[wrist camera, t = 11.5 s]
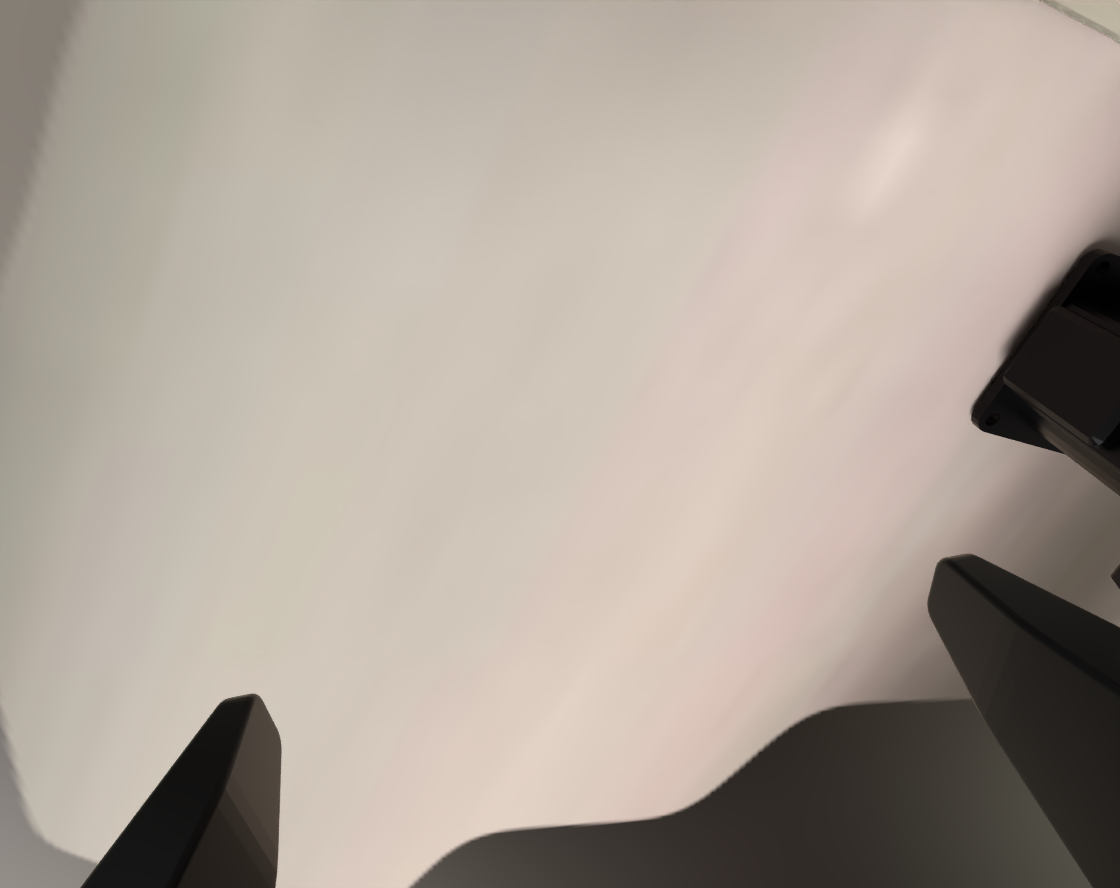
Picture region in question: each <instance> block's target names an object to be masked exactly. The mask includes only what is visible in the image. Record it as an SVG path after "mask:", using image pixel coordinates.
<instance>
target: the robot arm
mask: <svg viewBox="0 0 1120 888" xmlns="http://www.w3.org/2000/svg"><path fill="white" fill-rule="evenodd" d="M1099 263H1100V264H1099ZM1098 264H1099V266H1098V268H1097V269H1096V270H1095V268H1096V266H1097V265H1098ZM1094 270H1095V271H1094ZM989 415H990V416H989ZM988 416H989V417H988ZM987 417H988V418H987ZM986 418H987V419H986ZM971 421H972V423H973V424H974V425H975V426H976V427H978V428H979V429H980V430H982V431H983V432H987V433H990V434H994V435H998V436H1001V437H1005V438H1008V439H1012V440H1016V441H1019V442H1023V443H1027V444H1030V445H1034V446H1037V447H1041V448H1045V449H1048V450H1052V451H1056V452H1059V453H1063V454H1066V455H1067V456H1068V457H1070V458H1071V459H1072V460H1074V461H1075V462H1076V463H1078V464H1079V465H1080V466H1081V467H1083V468H1084V469H1085V470H1087V471H1088V472H1089V473H1091V474H1092V475H1093V476H1095V477H1096V478H1097V479H1098V480H1100V481H1101V482H1102V483H1104V484H1105V485H1106V486H1108V487H1109V488H1110V489H1111V490H1113V491H1114V492H1115V493H1117V494H1118V495H1119V496H1120V256H1118V255H1115V254H1113V253H1110V252H1108V251H1105V250H1102V249H1096V250H1093V251H1091V252H1089V253H1088V254H1086V255H1085V256H1084V257H1083V258H1082V259H1081V261H1080V262H1079V263H1078V265H1077V266H1076V268H1075V269H1074V270H1073V272H1072V273H1071V275H1070V276H1069V277H1068V279H1067V280H1066V282H1065V283H1064V284H1063V286H1062V287H1061V289H1060V290H1059V292H1058V293H1057V294H1056V296H1055V297H1054V299H1053V300H1052V301H1051V303H1050V304H1049V306H1048V307H1047V308H1046V310H1045V311H1044V313H1043V314H1042V315H1041V317H1040V318H1039V320H1038V321H1037V323H1036V324H1035V325H1034V327H1033V328H1032V330H1031V331H1030V332H1029V334H1028V335H1027V337H1026V338H1025V339H1024V341H1023V342H1022V344H1021V345H1020V346H1019V348H1018V349H1017V351H1016V352H1015V353H1014V355H1013V356H1012V358H1011V359H1010V361H1009V362H1008V363H1007V365H1006V366H1005V368H1004V369H1003V370H1002V372H1001V373H1000V375H999V376H998V377H997V379H996V380H995V382H994V383H993V384H992V386H991V387H990V389H989V390H988V392H987V393H986V394H985V396H984V397H983V399H982V400H981V401H980V403H979V404H978V406H977V407H976V408H975V410H974V412H973V414H972V416H971ZM1111 577H1112V579H1113V580H1114V582H1115V583H1116V585H1117V586H1118V587H1119V589H1120V564H1119V566H1118V567H1117V568H1116V570H1115V571H1114V572H1113V573H1112V575H1111ZM928 612H929V615H930V618H931V620H932V622H933V624H934V626H935V628H936V630H937V632H938V634H939V636H940V638H941V639H942V641H943V643H944V645H945V647H946V649H947V651H948V653H949V655H950V657H951V659H952V661H953V663H954V665H955V667H956V668H957V670H958V672H959V674H960V676H961V678H962V680H963V682H964V684H965V686H966V688H967V690H968V692H969V694H970V696H971V698H972V699H973V701H974V703H975V705H976V707H977V709H978V710H979V712H980V714H981V716H982V717H983V719H984V721H985V723H986V724H987V726H988V728H989V729H990V731H991V732H992V734H993V736H994V737H995V739H996V740H997V742H998V743H999V745H1000V746H1001V748H1002V749H1003V751H1004V753H1005V754H1006V755H1007V757H1008V759H1009V760H1010V762H1011V763H1012V765H1013V766H1014V768H1015V769H1016V771H1017V772H1018V774H1019V776H1020V777H1021V779H1022V780H1023V782H1024V783H1025V784H1026V786H1027V787H1028V789H1029V791H1030V792H1031V794H1032V795H1033V797H1034V798H1035V800H1036V802H1037V803H1038V805H1039V806H1040V808H1041V809H1042V811H1043V812H1044V814H1045V815H1046V817H1047V818H1048V820H1049V821H1050V823H1051V824H1052V826H1053V828H1054V829H1055V831H1056V832H1057V834H1058V835H1059V837H1060V838H1061V840H1062V841H1063V843H1064V844H1065V846H1066V847H1067V849H1068V850H1069V852H1070V854H1071V855H1072V857H1073V858H1074V860H1075V861H1076V863H1077V864H1078V866H1079V867H1080V869H1081V870H1082V872H1083V873H1084V875H1085V876H1086V878H1087V880H1088V881H1089V883H1090V884H1091V886H1092V887H1093V888H1120V627H1118V626H1116V625H1114V624H1112V623H1110V622H1108V621H1106V620H1104V619H1102V618H1100V617H1098V616H1096V615H1094V614H1092V613H1090V612H1088V611H1086V610H1084V609H1082V608H1080V607H1078V606H1076V605H1074V604H1072V603H1070V602H1068V601H1066V600H1064V599H1062V598H1060V597H1058V596H1056V595H1054V594H1052V593H1050V592H1048V591H1046V590H1044V589H1042V588H1040V587H1038V586H1036V585H1034V584H1032V583H1030V582H1028V581H1026V580H1024V579H1022V578H1020V577H1018V576H1016V575H1014V574H1012V573H1010V572H1008V571H1006V570H1004V569H1002V568H1000V567H998V566H996V565H994V564H992V563H990V562H988V561H986V560H984V559H982V558H980V557H978V556H976V555H973V554H961V555H956V556H951V557H946V558H943V559H941V560H940V561H939V562H938V563H937V565H936V568H935V572H934V576H933V580H932V584H931V588H930V592H929V596H928ZM280 782H281V740H280V735H279V732H278V730H277V728H276V726H275V724H274V722H273V720H272V718H271V716H270V714H269V712H268V710H267V708H266V706H265V704H264V702H263V700H262V699H261V697H260V696H258V695H257V694H247V695H242V696H237V697H232V698H228V699H225V700H223V701H222V702H221V703H220V704H219V705H218V706H217V707H216V709H215V710H214V711H213V713H212V714H211V715H210V717H209V718H208V719H207V721H206V722H205V723H204V725H203V726H202V727H201V729H200V730H199V731H198V733H197V734H196V735H195V737H194V738H193V739H192V740H191V742H190V743H189V744H188V746H187V747H186V748H185V750H184V751H183V752H182V754H181V755H180V756H179V758H178V759H177V760H176V762H175V763H174V764H173V766H172V767H171V768H170V770H169V771H168V772H167V774H166V775H165V776H164V778H163V779H162V780H161V782H160V783H159V784H158V786H157V787H156V788H155V790H154V791H153V792H152V793H151V795H150V796H149V797H148V799H147V800H146V801H145V803H144V804H143V805H142V807H141V808H140V809H139V811H138V812H137V813H136V815H135V816H134V817H133V819H132V820H131V821H130V823H129V824H128V825H127V827H126V828H125V829H124V831H123V832H122V833H121V835H120V836H119V837H118V839H117V840H116V841H115V843H114V844H113V845H112V846H111V848H110V849H109V850H108V852H107V853H106V854H105V856H104V857H103V858H102V860H101V861H100V862H99V864H98V865H97V866H96V868H95V869H94V870H93V872H92V873H91V874H90V876H89V877H88V878H87V880H86V881H85V882H84V884H83V885H82V886H81V888H275V886H276V878H277V865H278V843H279V813H280Z"/></svg>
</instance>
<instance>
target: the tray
mask: <svg viewBox="0 0 1120 888" xmlns="http://www.w3.org/2000/svg"><path fill="white" fill-rule="evenodd" d="M1039 1H1041V2H1043V3H1045V4H1047V5H1049V6H1051V7H1053V8H1055V9H1057V10H1058V11H1060V12H1062V13H1064V14H1066V15H1068V16H1070V17H1072V18H1074V19H1075V20H1077V21H1079V22H1081V23H1083V24H1085V25H1087V26H1089V27H1091V28H1093V29H1094V30H1096V31H1098V32H1100V33H1102V34H1104V35H1106V36H1108V37H1110V38H1112V39H1113V40H1115V41H1117V42H1119V43H1120V0H1039Z"/></svg>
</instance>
